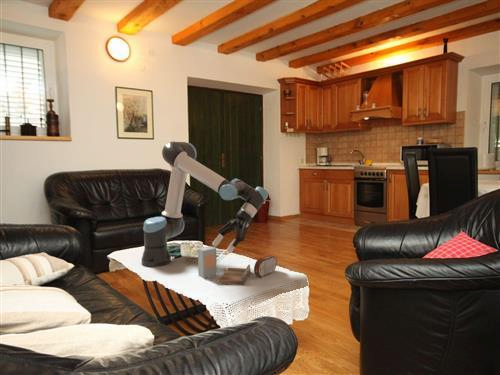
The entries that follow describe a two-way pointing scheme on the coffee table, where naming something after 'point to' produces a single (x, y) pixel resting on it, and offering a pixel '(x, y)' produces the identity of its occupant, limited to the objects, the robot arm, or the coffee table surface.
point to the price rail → (245, 273)
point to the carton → (207, 262)
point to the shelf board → (233, 276)
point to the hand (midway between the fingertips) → (220, 248)
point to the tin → (265, 265)
